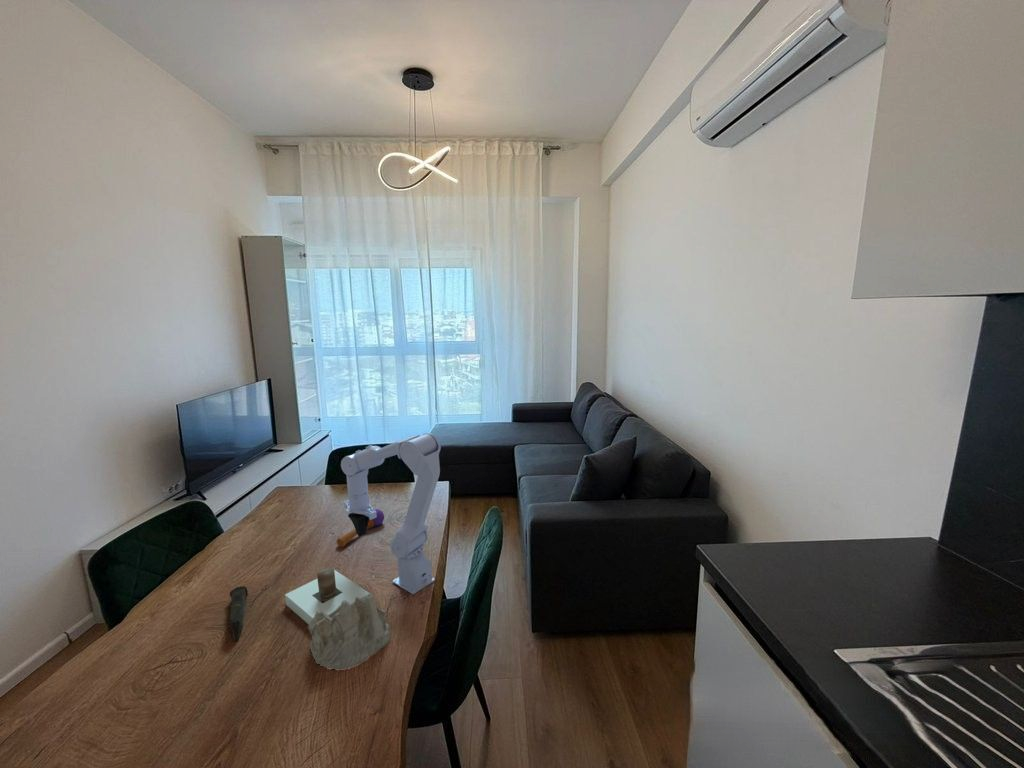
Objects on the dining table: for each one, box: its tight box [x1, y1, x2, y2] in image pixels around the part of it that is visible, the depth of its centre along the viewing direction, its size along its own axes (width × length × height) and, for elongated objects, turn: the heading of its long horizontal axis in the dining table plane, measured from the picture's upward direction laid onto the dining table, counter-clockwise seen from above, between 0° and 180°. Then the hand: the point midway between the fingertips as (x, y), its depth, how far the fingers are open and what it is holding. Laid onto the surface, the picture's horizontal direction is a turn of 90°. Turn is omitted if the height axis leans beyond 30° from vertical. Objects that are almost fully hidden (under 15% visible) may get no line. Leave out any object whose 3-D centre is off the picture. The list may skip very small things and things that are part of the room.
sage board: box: [284, 569, 371, 625], centre depth 114 cm, size 18×14×3 cm
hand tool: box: [229, 585, 249, 642], centre depth 108 cm, size 19×4×5 cm, turn 28°
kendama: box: [336, 508, 385, 548], centre depth 151 cm, size 6×6×20 cm
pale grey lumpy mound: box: [307, 593, 392, 670], centre depth 99 cm, size 16×16×15 cm
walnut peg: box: [316, 567, 336, 604], centre depth 113 cm, size 4×4×9 cm
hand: (361, 534), depth 129 cm, fingers closed
